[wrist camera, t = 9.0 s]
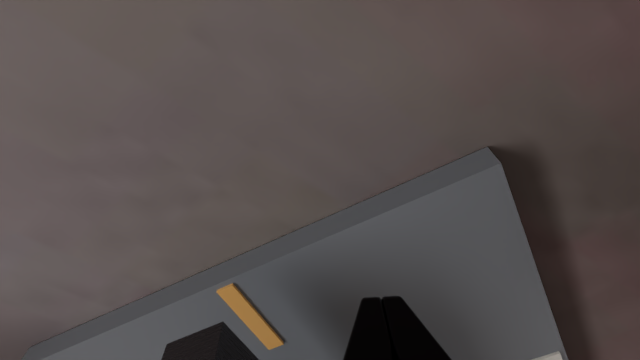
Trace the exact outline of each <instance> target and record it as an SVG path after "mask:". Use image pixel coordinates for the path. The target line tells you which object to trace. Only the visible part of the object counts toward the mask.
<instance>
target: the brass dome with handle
mask: <svg viewBox="0 0 640 360" xmlns="http://www.w3.org/2000/svg"><path fill="white" fill-rule="evenodd" d="M161 360H259V359H258V358H257V357H256V356H255V355H254V354H253V353H252V352H251V351H250V349H249V348H248V347H247V346H246V345H245V344H244V343H243V342H242V341H241V340H240V339H239V338H238V337H237V336H236V335H235V334H234V332H233V331H232V330H231V329H230V328H229V327H228V326H227V325H226V324H225V323H224V322H220V323H218V324H215V325H213V326H210V327H208V328H205V329H203V330H200V331H198V332H195V333H193V334H191V335H188V336H186V337H183V338H181V339H178V340H176V341H173V342H171V343H168V344H167V345H166V348H165V351H164V353H163V356H162V359H161Z"/></svg>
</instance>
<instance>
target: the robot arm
mask: <svg viewBox="0 0 640 360" xmlns="http://www.w3.org/2000/svg"><path fill="white" fill-rule="evenodd" d="M343 360H452V359H451V358H450V357H449V356H448V354H447V353H446V352H445V351H444V349H443V348H442V347H441V346H440V344H439V343H438V342H437V341H436V339H435V338H434V337H433V336H432V334H431V333H430V332H429V331H428V329H427V328H426V327H425V326H424V324H423V323H422V322H421V321H420V319H419V318H418V317H417V316H416V314H415V313H414V312H413V311H412V309H411V308H410V307H409V306H408V304H407V303H406V302H405V301H404V299H403V298H402V297H401V296H384V297H382V299H381V298H380V297H364V298H362V300H361V302H360V305H359V309H358V312H357V315H356V318H355V322H354V325H353V328H352V332H351V335H350V338H349V341H348V345H347V348H346V351H345V355H344V358H343Z"/></svg>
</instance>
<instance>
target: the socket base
mask: <svg viewBox="0 0 640 360" xmlns="http://www.w3.org/2000/svg"><path fill="white" fill-rule="evenodd" d="M384 296H401V297H402V298H403V299H404V301H405V302H406V303H407V304H408V306H409V307H410V308H411V309H412V311H413V312H414V313H415V314H416V316H417V317H418V318H419V319H420V321H421V322H422V323H423V324H424V326H425V327H426V328H427V329H428V331H429V332H430V333H431V334H432V336H433V337H434V338H435V339H436V341H437V342H438V343H439V344H440V346H441V347H442V348H443V349H444V351H445V352H446V353H447V354H448V356H449V357H450V358H451V359H452V360H568V358H567V355H566V352H565V349H564V346H563V343H562V340H561V337H560V335H559V332H558V329H557V326H556V323H555V320H554V317H553V314H552V311H551V308H550V305H549V302H548V299H547V296H546V293H545V290H544V288H543V285H542V282H541V279H540V276H539V273H538V270H537V267H536V264H535V261H534V258H533V255H532V252H531V249H530V246H529V244H528V241H527V238H526V235H525V232H524V229H523V226H522V223H521V220H520V217H519V214H518V211H517V208H516V205H515V202H514V199H513V197H512V194H511V191H510V188H509V185H508V182H507V179H506V176H505V173H504V170H503V167H502V164H501V162H500V161H499V160H498V159H497V158H496V156H495V155H494V154H493V153H492V152H491V150H490V149H489V148H488V147H486V148H483V149H481V150H479V151H476V152H474V153H472V154H470V155H467V156H465V157H463V158H460V159H458V160H456V161H454V162H451V163H449V164H447V165H445V166H442V167H440V168H438V169H435V170H433V171H431V172H429V173H426V174H424V175H422V176H419V177H417V178H415V179H413V180H410V181H408V182H406V183H404V184H401V185H399V186H397V187H394V188H392V189H390V190H388V191H385V192H383V193H381V194H378V195H376V196H374V197H372V198H369V199H367V200H365V201H362V202H360V203H358V204H356V205H353V206H351V207H349V208H347V209H344V210H342V211H340V212H337V213H335V214H333V215H331V216H328V217H326V218H324V219H321V220H319V221H317V222H315V223H312V224H310V225H308V226H306V227H303V228H301V229H299V230H296V231H294V232H292V233H290V234H287V235H285V236H283V237H280V238H278V239H276V240H274V241H271V242H269V243H267V244H264V245H262V246H260V247H258V248H255V249H253V250H251V251H249V252H246V253H244V254H242V255H239V256H237V257H235V258H233V259H230V260H228V261H226V262H223V263H221V264H219V265H217V266H214V267H212V268H210V269H207V270H205V271H203V272H201V273H198V274H196V275H194V276H192V277H189V278H187V279H185V280H182V281H180V282H178V283H176V284H173V285H171V286H169V287H166V288H164V289H162V290H160V291H157V292H155V293H153V294H151V295H148V296H146V297H144V298H141V299H139V300H137V301H135V302H132V303H130V304H128V305H125V306H123V307H121V308H119V309H116V310H114V311H112V312H109V313H107V314H105V315H103V316H100V317H98V318H96V319H94V320H91V321H89V322H87V323H84V324H82V325H80V326H78V327H75V328H73V329H71V330H68V331H66V332H64V333H62V334H59V335H57V336H55V337H53V338H50V339H48V340H46V341H43V342H41V343H39V344H37V345H34V346H32V347H30V348H29V349H28V351H27V352H26V354H25V355H24V357H23V358H22V360H161V359H162V356H163V353H164V351H165V348H166V345H167V344H168V343H171V342H173V341H176V340H178V339H181V338H183V337H186V336H188V335H191V334H193V333H195V332H198V331H200V330H203V329H205V328H208V327H210V326H213V325H215V324H218V323H220V322H224V323H225V324H226V325H227V326H228V327H229V328H230V329H231V330H232V331H233V332H234V334H235V335H236V336H237V337H238V338H239V339H240V340H241V341H242V342H243V343H244V344H245V345H246V346H247V347H248V348H249V349H250V351H251V352H252V353H253V354H254V355H255V356H256V357H257V358H258V359H259V360H343V358H344V355H345V351H346V348H347V345H348V341H349V338H350V335H351V332H352V328H353V325H354V322H355V318H356V315H357V312H358V309H359V305H360V302H361V300H362V298H364V297H380V298H381V299H382V297H384Z"/></svg>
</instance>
